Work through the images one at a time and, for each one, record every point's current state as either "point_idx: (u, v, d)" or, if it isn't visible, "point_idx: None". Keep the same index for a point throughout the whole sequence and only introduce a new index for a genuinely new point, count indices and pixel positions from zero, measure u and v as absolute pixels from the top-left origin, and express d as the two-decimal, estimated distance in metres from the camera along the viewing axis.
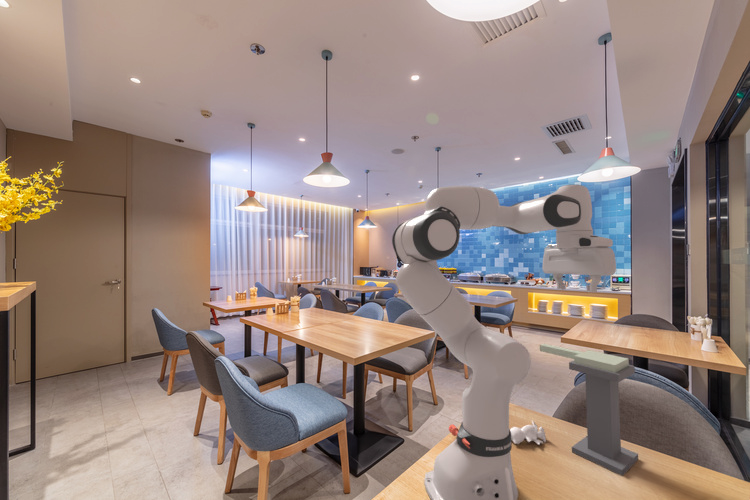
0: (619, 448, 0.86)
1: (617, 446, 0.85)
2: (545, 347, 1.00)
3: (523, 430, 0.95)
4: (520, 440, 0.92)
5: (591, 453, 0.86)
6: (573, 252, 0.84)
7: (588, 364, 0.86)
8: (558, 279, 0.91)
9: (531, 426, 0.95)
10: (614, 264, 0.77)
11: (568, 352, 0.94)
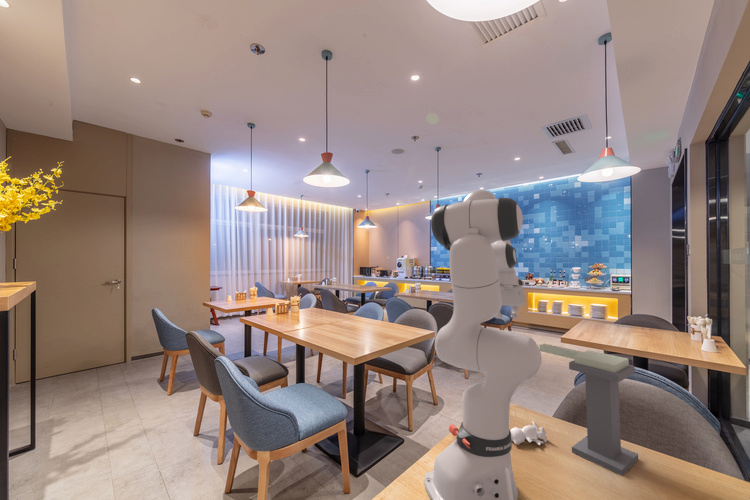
0: (619, 448, 0.86)
1: (617, 446, 0.85)
2: (545, 347, 1.00)
3: (524, 430, 0.94)
4: (521, 440, 0.92)
5: (591, 453, 0.86)
6: (513, 289, 1.14)
7: (588, 364, 0.86)
8: None
9: (532, 426, 0.95)
10: None
11: (568, 352, 0.94)
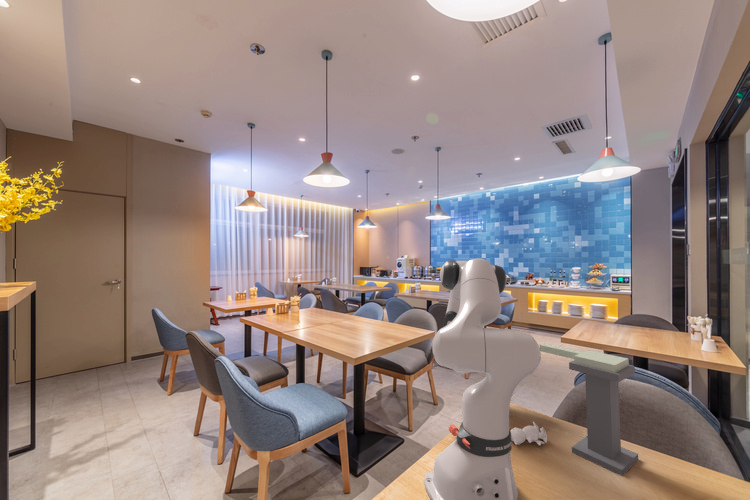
0: (619, 448, 0.86)
1: (617, 446, 0.85)
2: (545, 347, 1.00)
3: (524, 431, 0.94)
4: (521, 441, 0.91)
5: (591, 453, 0.86)
6: None
7: (588, 364, 0.86)
8: None
9: (532, 427, 0.95)
10: None
11: (568, 352, 0.94)
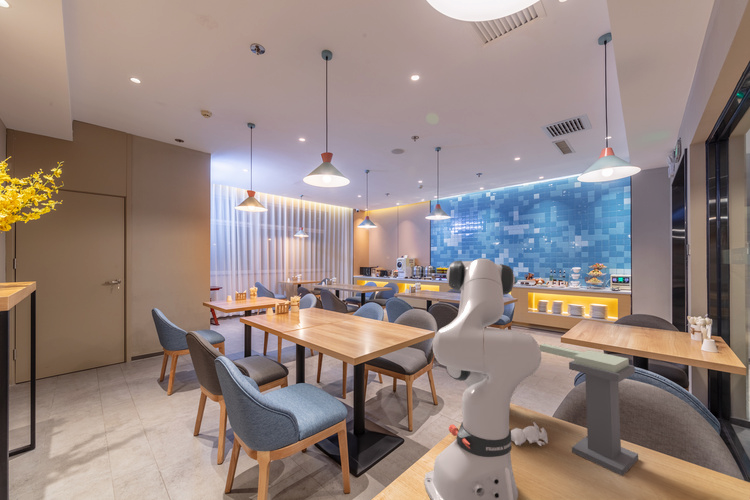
0: (619, 448, 0.86)
1: (617, 446, 0.85)
2: (545, 347, 1.00)
3: (525, 431, 0.94)
4: (522, 441, 0.91)
5: (591, 453, 0.86)
6: None
7: (588, 364, 0.86)
8: None
9: (533, 427, 0.95)
10: None
11: (568, 352, 0.94)
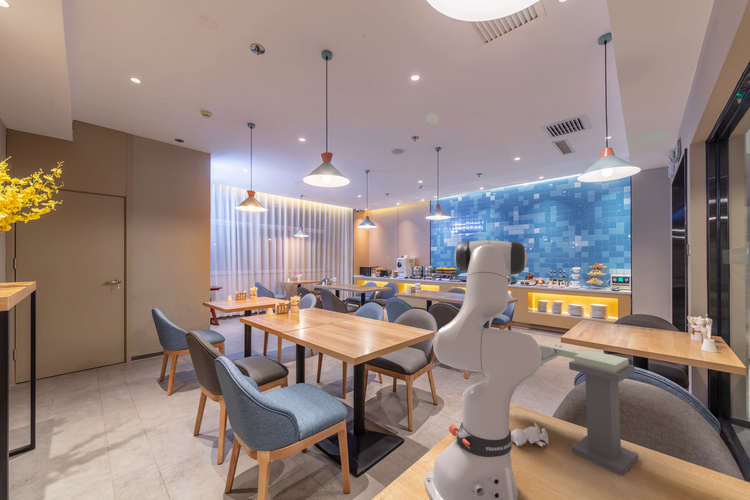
0: (619, 448, 0.86)
1: (617, 446, 0.85)
2: (545, 347, 1.00)
3: (525, 432, 0.94)
4: (522, 442, 0.91)
5: (591, 453, 0.86)
6: None
7: (588, 364, 0.86)
8: None
9: (533, 428, 0.94)
10: None
11: (568, 352, 0.94)
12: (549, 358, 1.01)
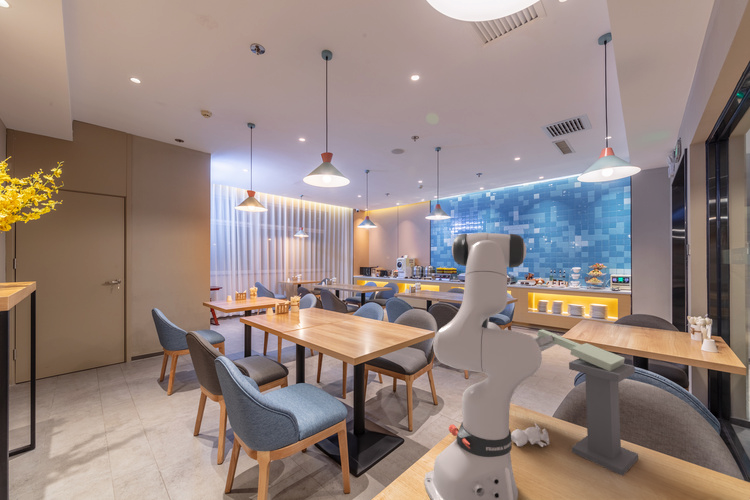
0: (619, 448, 0.86)
1: (617, 446, 0.85)
2: (543, 333, 1.00)
3: (526, 432, 0.93)
4: (523, 442, 0.91)
5: (591, 453, 0.86)
6: None
7: (584, 358, 0.87)
8: None
9: (534, 428, 0.94)
10: None
11: (566, 342, 0.95)
12: (547, 345, 1.02)
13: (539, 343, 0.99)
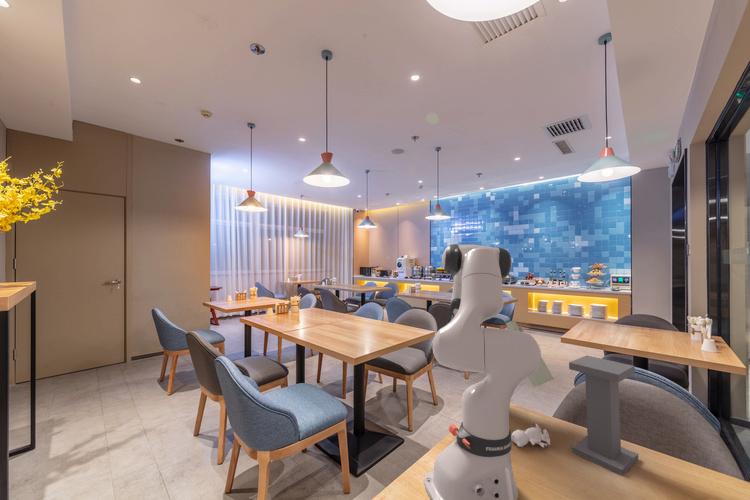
0: (619, 448, 0.86)
1: (617, 446, 0.85)
2: (511, 326, 1.10)
3: (527, 433, 0.93)
4: (524, 443, 0.90)
5: (591, 453, 0.86)
6: None
7: None
8: None
9: (535, 429, 0.94)
10: None
11: None
12: None
13: None
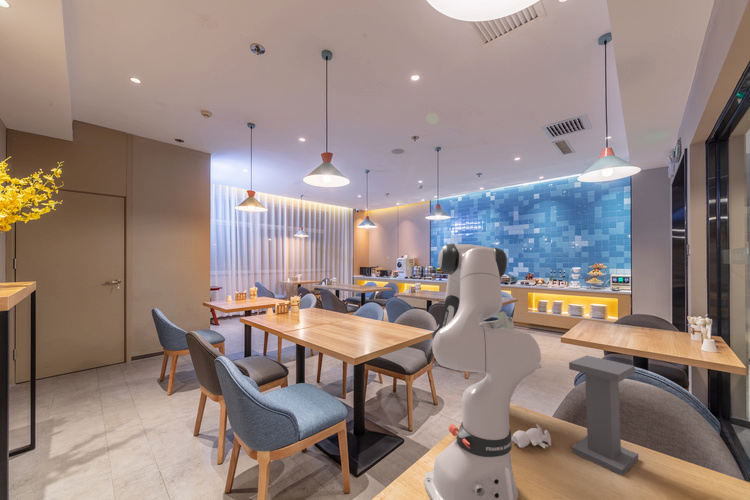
0: (619, 448, 0.86)
1: (617, 446, 0.85)
2: (501, 317, 1.14)
3: (528, 433, 0.93)
4: (525, 444, 0.90)
5: (591, 453, 0.86)
6: None
7: None
8: None
9: (536, 429, 0.93)
10: None
11: None
12: (501, 328, 1.16)
13: (494, 325, 1.13)
